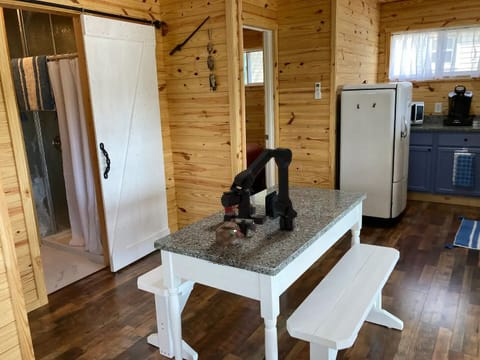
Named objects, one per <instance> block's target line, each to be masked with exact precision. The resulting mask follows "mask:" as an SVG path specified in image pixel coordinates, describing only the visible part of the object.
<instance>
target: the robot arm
mask: <svg viewBox="0 0 480 360" xmlns="http://www.w3.org/2000/svg"><path fill="white" fill-rule="evenodd" d="M271 159H274V163H275V164H276V166H277V185H278V186H277V187H278V188H277V190H278V196H277V198H276V199H274V201H273V205H274V206H273V209H274V211H275V212H276V214H277V216H278V217H279V219H278V221H279V223H278V224H279V225H278V227H279V229H278V230H279V231H287V232H292V231H294V230H295V229H296V227H297V225H295V219H296V218H298V212H297V211H296V210H295V209H294V208H293V207H294V206H293V202H292V200H291V198H290V185H289V184H290V182H289V181H290V180H289V179H290V177H289V176H290V175H289V174H290V173H289V170H290V169H289V167H290V165H291V163H292V160H293V151H292V150H291V149H290V148H286V147H279V146H278V147H276V148H268V147H267V148H264V149H263V150H262V152H261V153H260V154H259V155H258V157H257V158H256V159H254V161H253V162H252V163H251V164H250V165H249V166H248V167H247V168H246V169H243V170H241V171H240V172H239V173H238V174H236V175H235V176H234V179H233V181H232V184H231V186H230V187H229V191H223V192H222V193H223V194H221V198H220V203H221V205H222V207H223V208H228V207H232V206H236V205H237V215H236V213H235V212H228V213H227V214H225V213H224V215H223V217H222V218H223V222H225V223H226V222H230V221H231V219H236V223H235V224H237V225H238V226H239V228H240V229H241V231H242V233H243V235H244V236H243V237H245V238H246V237H247V236H248V234H249V232H250V229H249V228H250V225H251V224H252V223H255V224H257V226H258V225H260V226H261V225H264V224H265V223H266V222H267V221H268V220H267V219H268V218H267V215H266V214H260V213H259V214H257V215H255V214H256V210H257V207H256V206H253V205H252V204H253V203H251V193H253V192H255V190H254V189H253V188H252V185H253V184H254V182H255V180H256V177H257V175H258V174H259V173H260V172H261V170H263V168H264V167H265V166H266V165H267V164H268V163H269V162H270V161H271ZM254 215H255V216H254Z"/></svg>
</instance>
